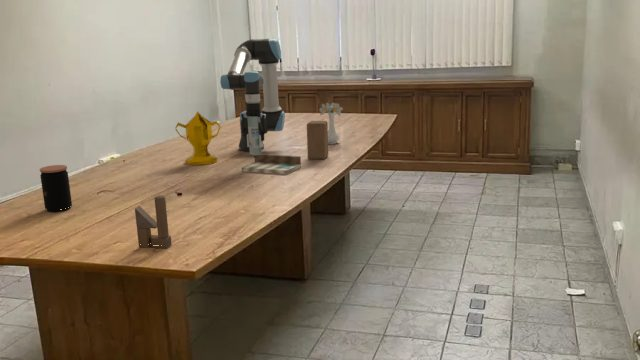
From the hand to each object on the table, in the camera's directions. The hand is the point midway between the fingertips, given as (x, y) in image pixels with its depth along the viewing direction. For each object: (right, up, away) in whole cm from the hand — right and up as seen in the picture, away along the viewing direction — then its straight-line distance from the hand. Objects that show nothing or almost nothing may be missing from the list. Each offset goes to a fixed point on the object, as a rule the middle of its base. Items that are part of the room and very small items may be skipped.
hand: (255, 146), depth 331 cm
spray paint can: (0, -4, +1) cm, 4 cm away
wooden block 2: (-24, -41, -110) cm, 119 cm away
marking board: (+8, -12, -1) cm, 15 cm away
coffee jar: (-77, -30, -61) cm, 102 cm away
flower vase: (+41, +6, +65) cm, 77 cm away
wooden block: (+33, -5, +24) cm, 41 cm away
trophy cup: (-32, -7, +23) cm, 40 cm away
